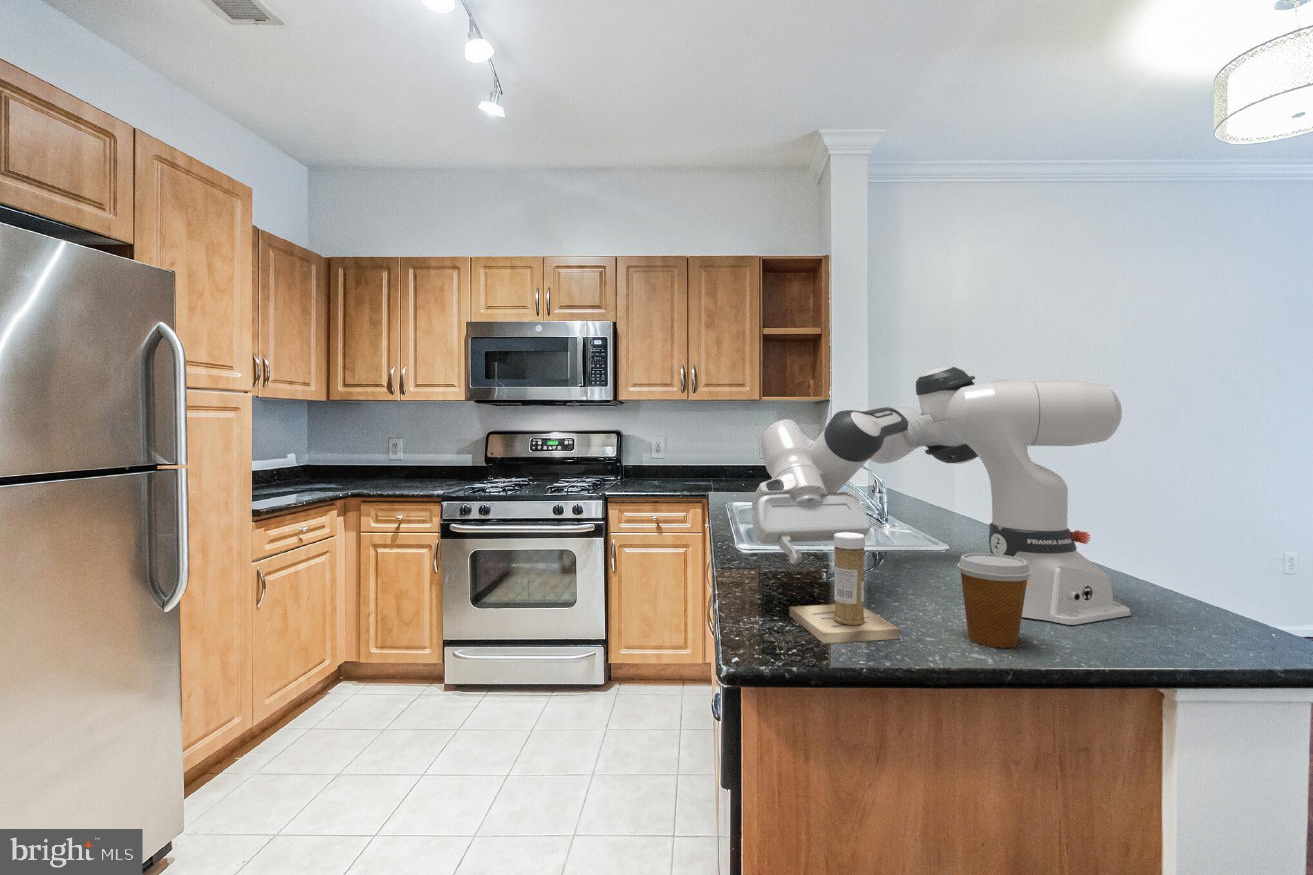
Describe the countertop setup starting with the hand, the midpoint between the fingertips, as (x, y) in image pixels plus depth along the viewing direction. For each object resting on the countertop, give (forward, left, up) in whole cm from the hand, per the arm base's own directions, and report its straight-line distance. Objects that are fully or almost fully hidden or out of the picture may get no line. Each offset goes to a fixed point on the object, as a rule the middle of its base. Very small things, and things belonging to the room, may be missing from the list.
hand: (824, 560), depth 101 cm
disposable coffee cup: (-20, +15, -10) cm, 26 cm away
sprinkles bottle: (-1, +7, -8) cm, 11 cm away
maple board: (-1, +5, -9) cm, 11 cm away
